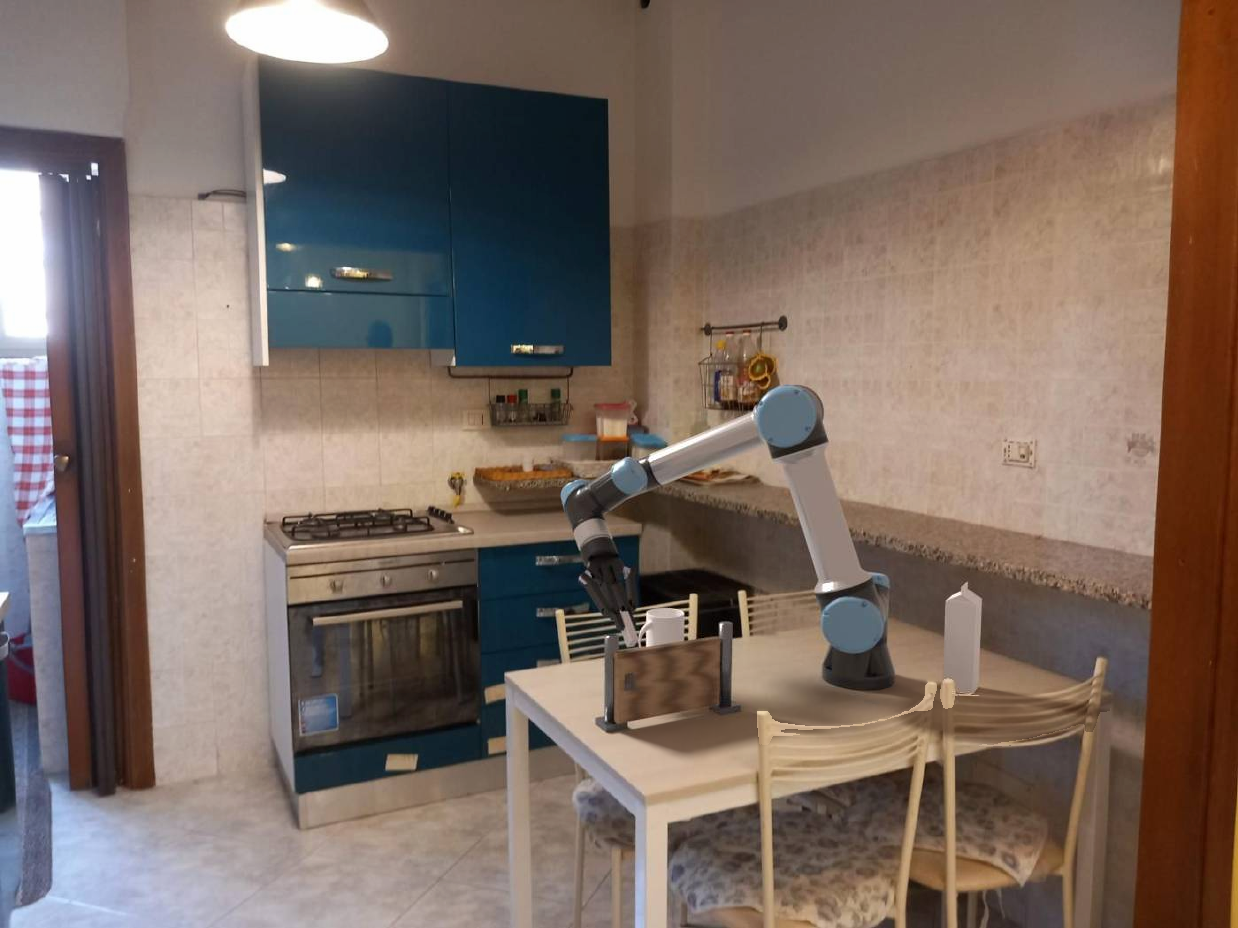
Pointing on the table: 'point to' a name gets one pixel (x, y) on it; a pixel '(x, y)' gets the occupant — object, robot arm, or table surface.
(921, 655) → the table surface
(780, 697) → the table surface
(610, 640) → the gate frame
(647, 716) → the gate
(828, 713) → the table surface
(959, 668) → the milk
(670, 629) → the mug
